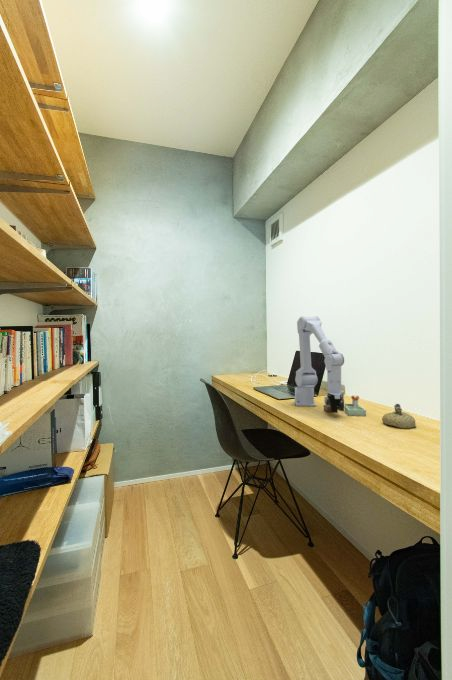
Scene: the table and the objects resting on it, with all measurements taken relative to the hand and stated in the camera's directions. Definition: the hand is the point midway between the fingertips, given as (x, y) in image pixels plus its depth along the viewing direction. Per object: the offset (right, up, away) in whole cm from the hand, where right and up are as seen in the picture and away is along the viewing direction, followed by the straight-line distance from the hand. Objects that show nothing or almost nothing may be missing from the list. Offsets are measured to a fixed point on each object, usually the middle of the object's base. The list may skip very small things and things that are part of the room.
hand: (334, 411), depth 135 cm
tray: (+10, -1, +2) cm, 10 cm away
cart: (+4, -1, +12) cm, 13 cm away
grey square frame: (+12, -1, +11) cm, 16 cm away
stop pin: (+10, -1, +2) cm, 10 cm away
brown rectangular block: (0, -2, +6) cm, 6 cm away
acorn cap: (+20, -2, -14) cm, 25 cm away
